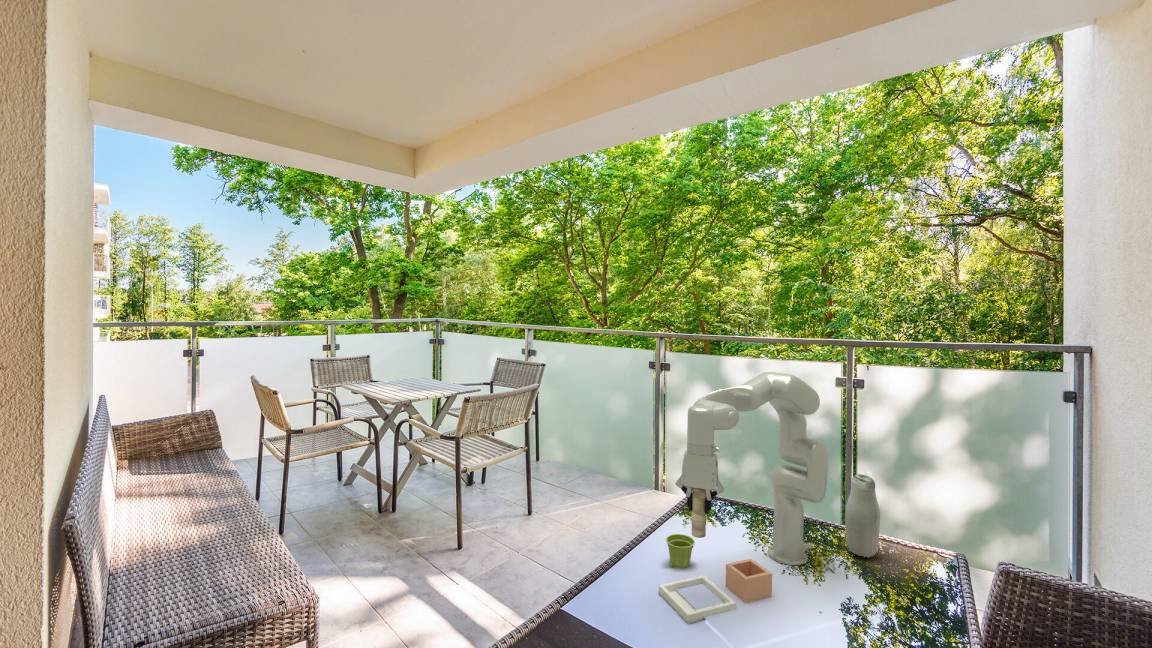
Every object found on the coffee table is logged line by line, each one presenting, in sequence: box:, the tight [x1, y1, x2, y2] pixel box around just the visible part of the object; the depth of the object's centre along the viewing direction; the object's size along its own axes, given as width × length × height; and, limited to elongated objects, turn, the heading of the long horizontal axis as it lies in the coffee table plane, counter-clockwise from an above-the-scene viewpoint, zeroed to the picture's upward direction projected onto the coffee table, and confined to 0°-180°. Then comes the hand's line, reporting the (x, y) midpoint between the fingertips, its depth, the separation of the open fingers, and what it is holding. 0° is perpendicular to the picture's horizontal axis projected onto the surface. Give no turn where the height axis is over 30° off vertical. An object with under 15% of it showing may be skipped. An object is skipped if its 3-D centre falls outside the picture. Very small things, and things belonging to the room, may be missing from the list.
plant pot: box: [665, 533, 696, 569], centre depth 177 cm, size 9×9×9 cm
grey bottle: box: [845, 473, 881, 558], centre depth 184 cm, size 10×10×28 cm
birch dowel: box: [691, 488, 707, 539], centre depth 154 cm, size 4×4×14 cm
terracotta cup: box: [725, 558, 773, 604], centre depth 160 cm, size 9×9×8 cm
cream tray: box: [658, 574, 737, 625], centre depth 156 cm, size 16×16×3 cm
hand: (698, 510), depth 154 cm, fingers closed on birch dowel, 4 cm apart
